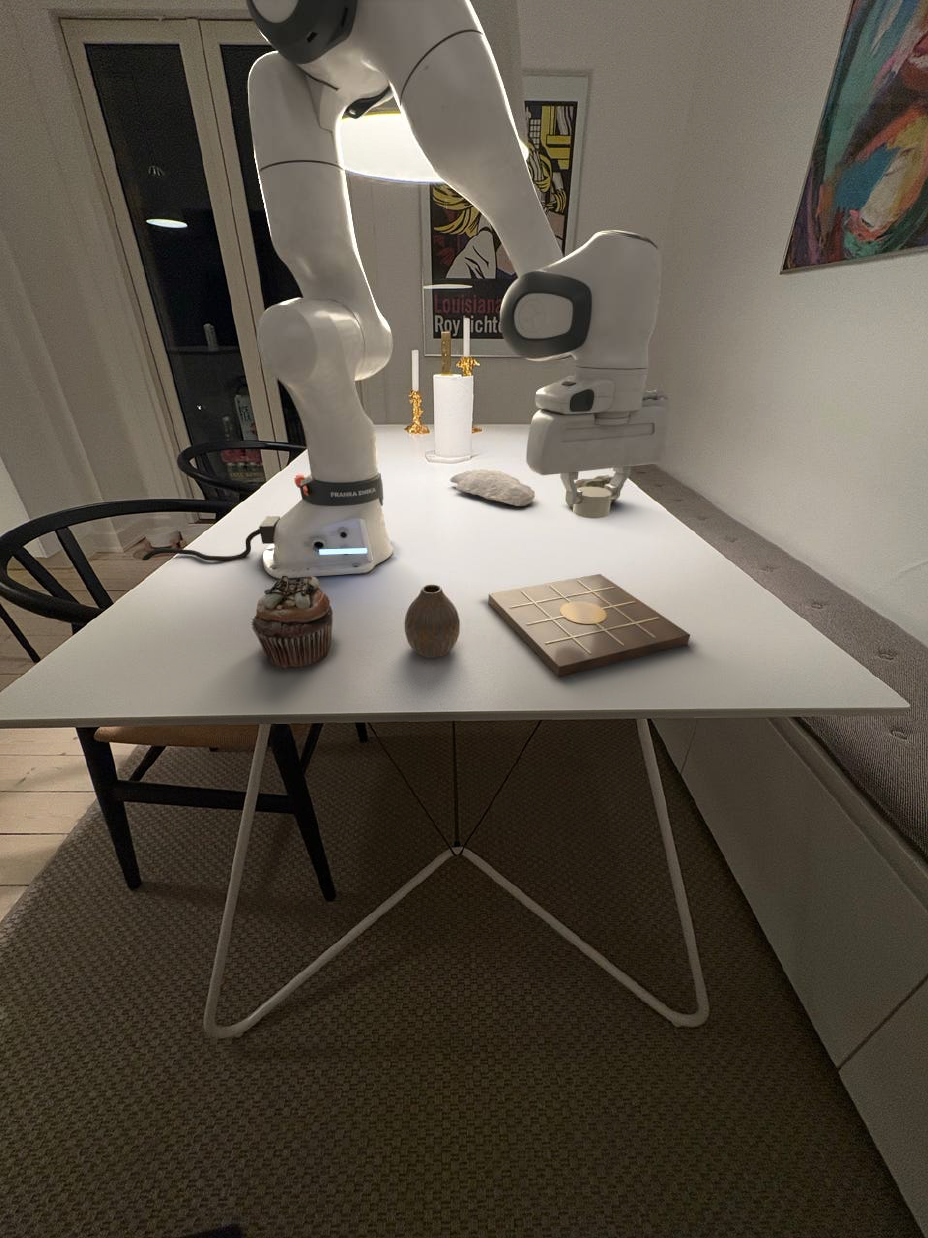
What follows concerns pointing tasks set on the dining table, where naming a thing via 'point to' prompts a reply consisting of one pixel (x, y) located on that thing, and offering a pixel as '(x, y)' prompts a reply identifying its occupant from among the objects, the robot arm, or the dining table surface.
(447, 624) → the vase
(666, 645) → the board
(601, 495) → the game stone
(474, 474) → the stone
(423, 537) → the dining table surface
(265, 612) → the cupcake
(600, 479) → the rock
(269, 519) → the robot arm
